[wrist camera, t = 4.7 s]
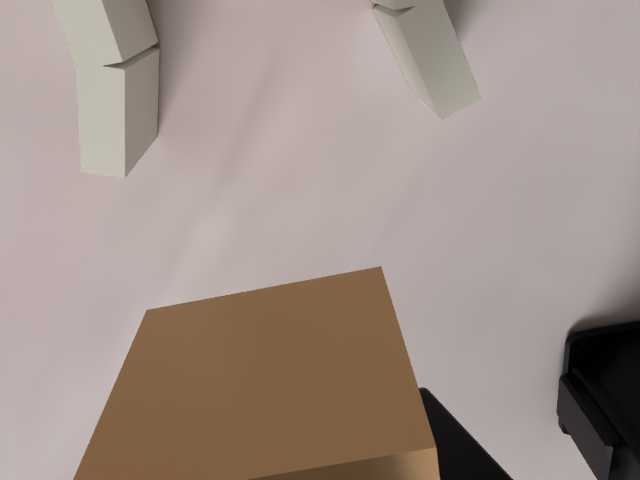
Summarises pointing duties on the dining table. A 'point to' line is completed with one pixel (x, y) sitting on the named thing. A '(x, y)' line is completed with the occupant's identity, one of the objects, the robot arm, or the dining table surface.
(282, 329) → the orange base grey top
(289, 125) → the dining table surface
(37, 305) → the dining table surface
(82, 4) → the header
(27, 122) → the dining table surface
